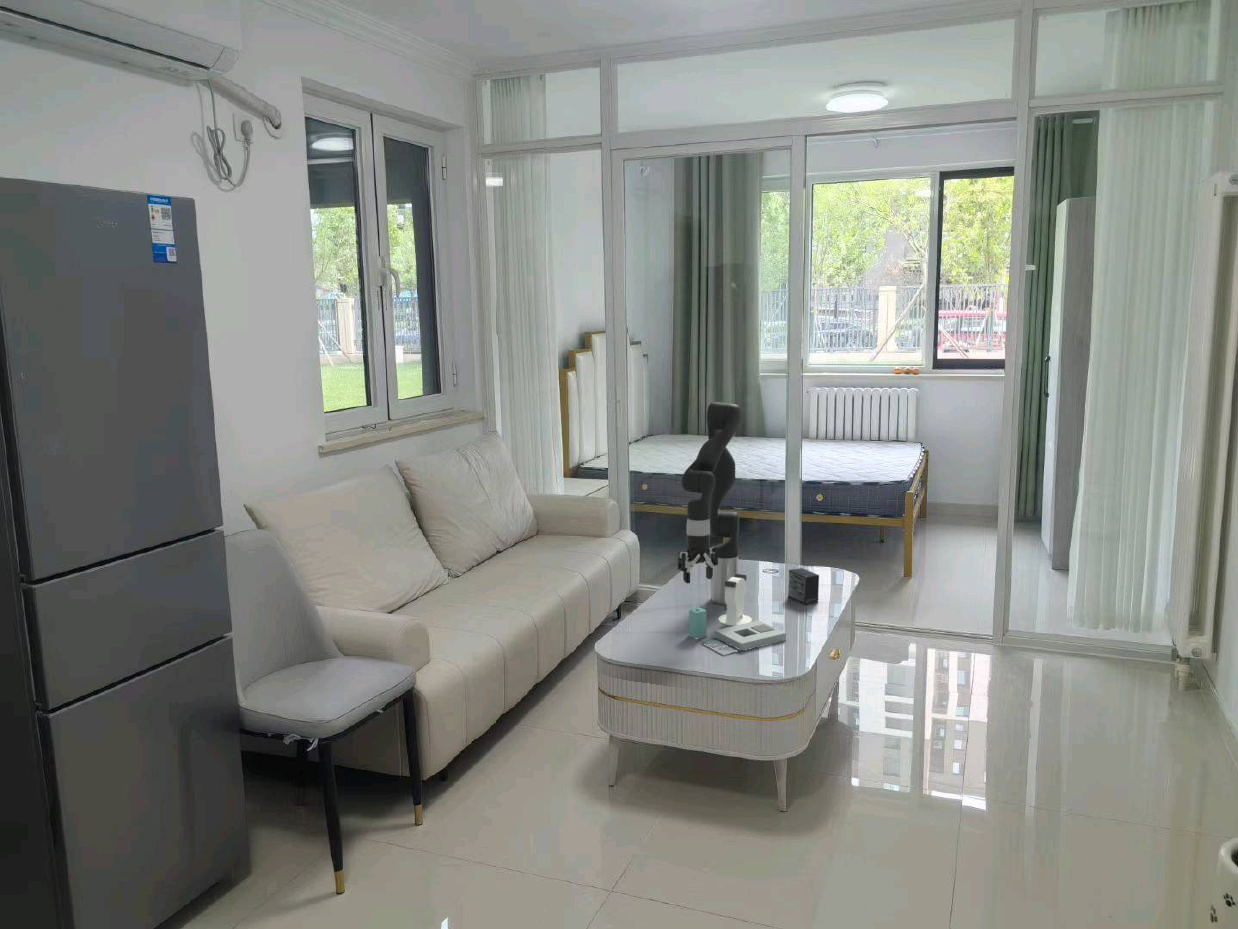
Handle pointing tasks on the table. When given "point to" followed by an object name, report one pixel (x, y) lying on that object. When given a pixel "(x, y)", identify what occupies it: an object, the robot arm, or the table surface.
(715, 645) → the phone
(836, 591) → the table surface
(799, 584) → the small box
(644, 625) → the table surface
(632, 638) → the table surface
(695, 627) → the teal knobbed block
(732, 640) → the plate
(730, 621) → the white curved stand
